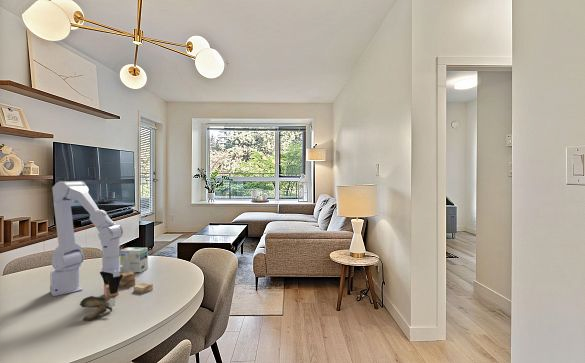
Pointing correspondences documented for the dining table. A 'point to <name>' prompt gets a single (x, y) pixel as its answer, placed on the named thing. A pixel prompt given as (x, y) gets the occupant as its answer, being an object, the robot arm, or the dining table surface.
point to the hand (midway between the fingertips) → (111, 291)
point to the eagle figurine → (97, 305)
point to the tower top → (127, 276)
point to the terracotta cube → (107, 291)
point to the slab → (143, 287)
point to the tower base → (127, 283)
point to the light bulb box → (134, 259)
